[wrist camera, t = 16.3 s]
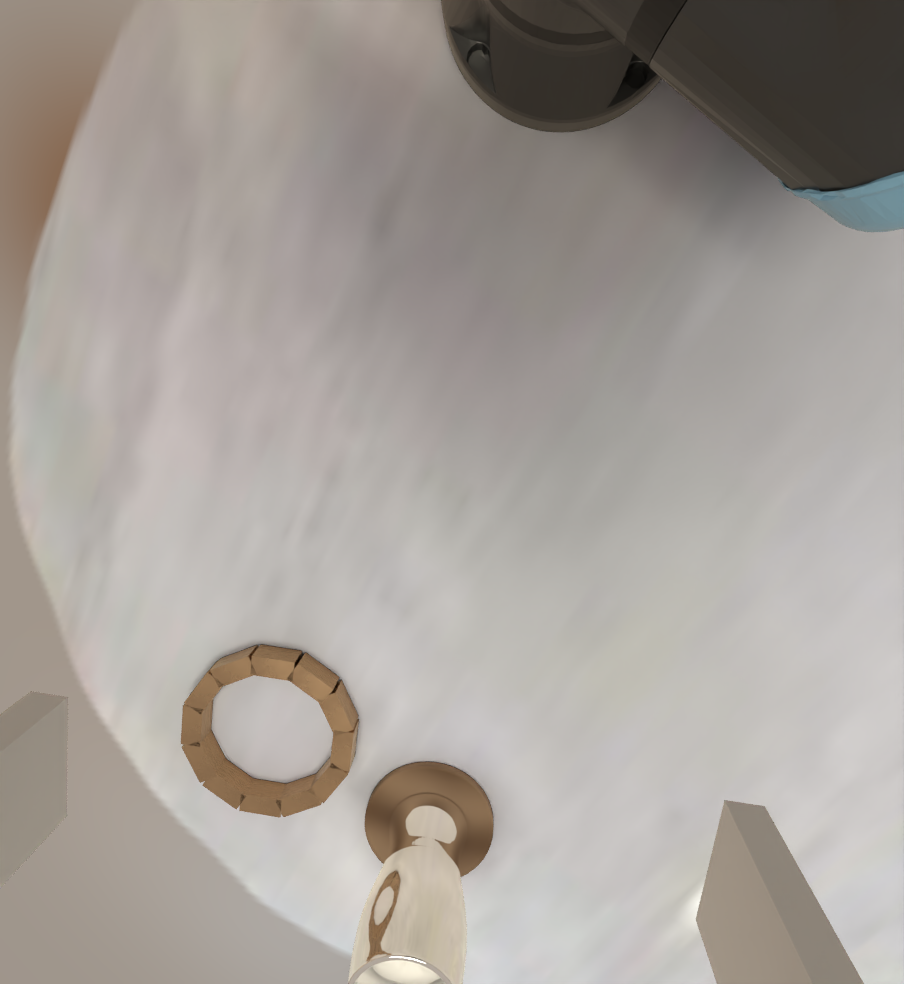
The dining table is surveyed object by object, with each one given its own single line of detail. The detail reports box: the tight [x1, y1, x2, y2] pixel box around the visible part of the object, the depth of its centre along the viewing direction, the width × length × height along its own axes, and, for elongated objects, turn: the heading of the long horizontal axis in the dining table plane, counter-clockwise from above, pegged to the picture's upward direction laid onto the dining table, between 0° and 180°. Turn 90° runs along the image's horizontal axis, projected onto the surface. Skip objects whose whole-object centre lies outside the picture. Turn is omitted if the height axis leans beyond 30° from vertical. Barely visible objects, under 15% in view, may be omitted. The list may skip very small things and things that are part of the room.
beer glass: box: [348, 793, 468, 984], centre depth 47 cm, size 7×7×15 cm
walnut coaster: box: [365, 762, 493, 877], centre depth 55 cm, size 10×10×1 cm
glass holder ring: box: [181, 645, 359, 817], centre depth 54 cm, size 13×13×2 cm
